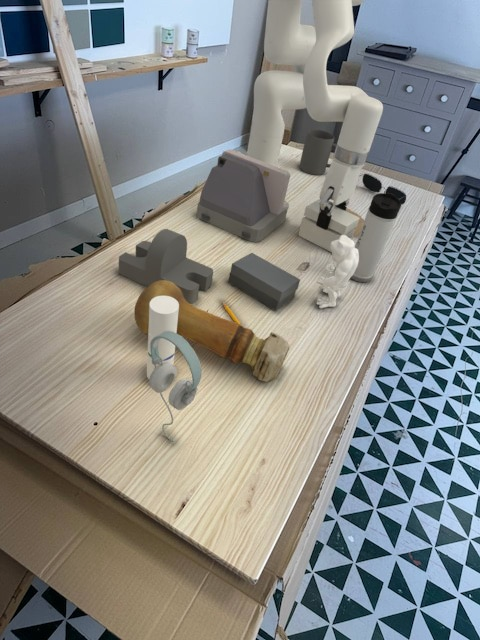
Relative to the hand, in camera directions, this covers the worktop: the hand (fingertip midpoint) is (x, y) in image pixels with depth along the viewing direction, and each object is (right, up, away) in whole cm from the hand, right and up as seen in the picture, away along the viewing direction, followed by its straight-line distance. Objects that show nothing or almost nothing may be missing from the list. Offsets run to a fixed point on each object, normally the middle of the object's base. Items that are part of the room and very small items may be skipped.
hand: (329, 222), depth 119 cm
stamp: (-29, -30, -35) cm, 54 cm away
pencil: (-22, -28, -29) cm, 46 cm away
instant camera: (-23, +2, +6) cm, 23 cm away
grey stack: (-18, -18, -18) cm, 32 cm away
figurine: (-4, -21, -17) cm, 27 cm away
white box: (0, 0, 0) cm, 1 cm away
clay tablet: (+5, +3, +13) cm, 14 cm away
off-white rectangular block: (-1, -4, +3) cm, 5 cm away
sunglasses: (+18, +13, +28) cm, 35 cm away
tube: (-36, -34, -41) cm, 65 cm away
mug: (+4, +26, +40) cm, 48 cm away
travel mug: (+6, -14, -7) cm, 17 cm away
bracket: (-39, -16, -20) cm, 47 cm away
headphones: (-34, -43, -50) cm, 74 cm away
